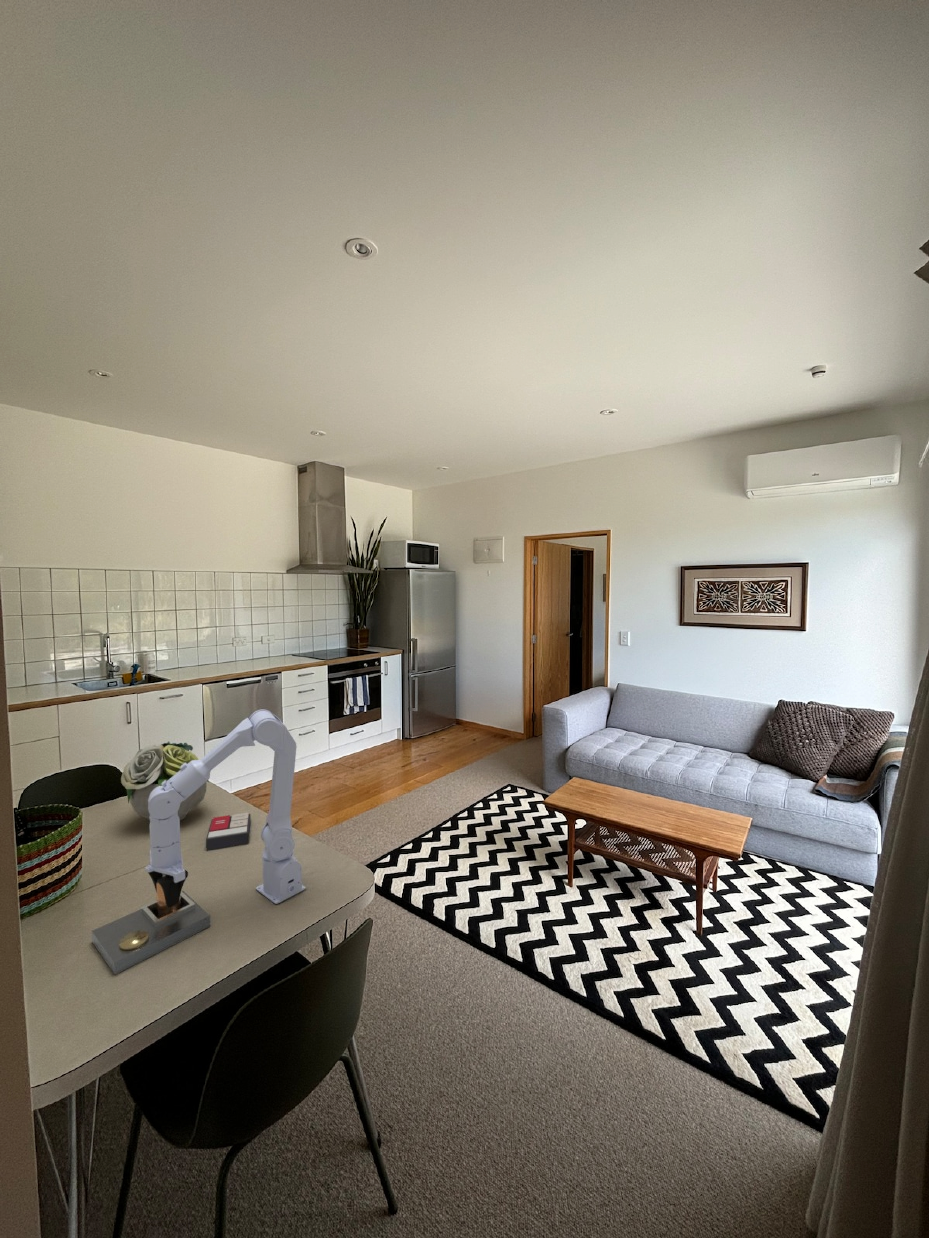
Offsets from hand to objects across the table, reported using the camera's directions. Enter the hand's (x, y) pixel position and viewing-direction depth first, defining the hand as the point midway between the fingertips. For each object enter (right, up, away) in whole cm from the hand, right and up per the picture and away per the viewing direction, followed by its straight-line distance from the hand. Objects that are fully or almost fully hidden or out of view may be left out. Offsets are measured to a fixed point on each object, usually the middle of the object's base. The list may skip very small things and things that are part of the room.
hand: (168, 900), depth 113 cm
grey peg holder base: (-1, -5, -4) cm, 6 cm away
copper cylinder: (0, -3, 0) cm, 3 cm away
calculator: (-4, -3, +39) cm, 39 cm away
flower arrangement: (-27, -1, +49) cm, 56 cm away
